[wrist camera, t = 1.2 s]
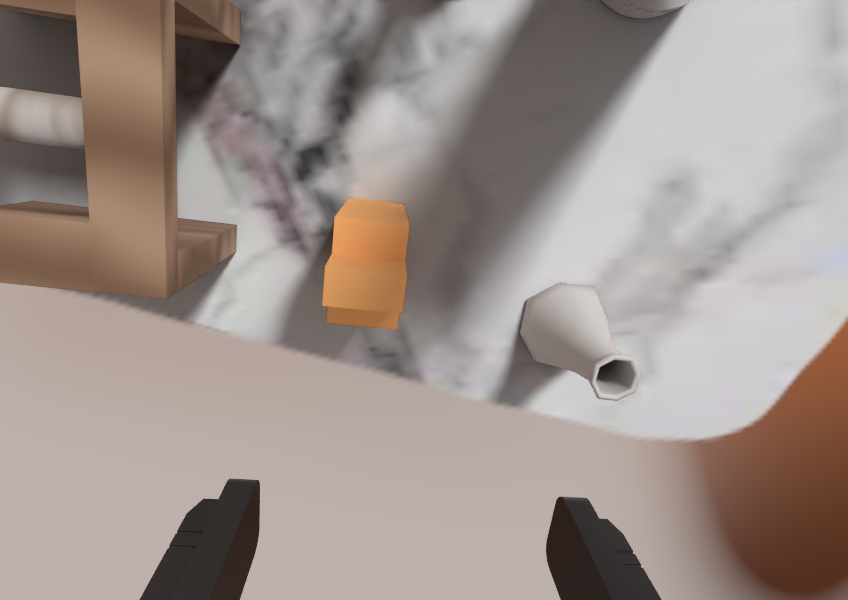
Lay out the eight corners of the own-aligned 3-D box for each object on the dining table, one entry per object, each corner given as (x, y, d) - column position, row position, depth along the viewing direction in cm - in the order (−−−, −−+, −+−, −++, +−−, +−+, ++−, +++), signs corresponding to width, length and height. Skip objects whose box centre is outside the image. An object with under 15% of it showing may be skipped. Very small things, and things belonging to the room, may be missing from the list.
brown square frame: (9, -26, 30) (-218, -129, 19) (241, 11, 32) (158, -64, 21) (34, 229, 35) (-136, 268, 24) (236, 251, 37) (166, 299, 25)
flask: (523, 371, 41) (564, 438, 32) (513, 289, 39) (554, 336, 29) (607, 355, 41) (673, 417, 32) (603, 273, 39) (672, 314, 30)
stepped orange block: (349, 197, 36) (327, 225, 23) (404, 204, 36) (412, 235, 24) (343, 276, 38) (319, 343, 25) (394, 281, 38) (397, 350, 25)
